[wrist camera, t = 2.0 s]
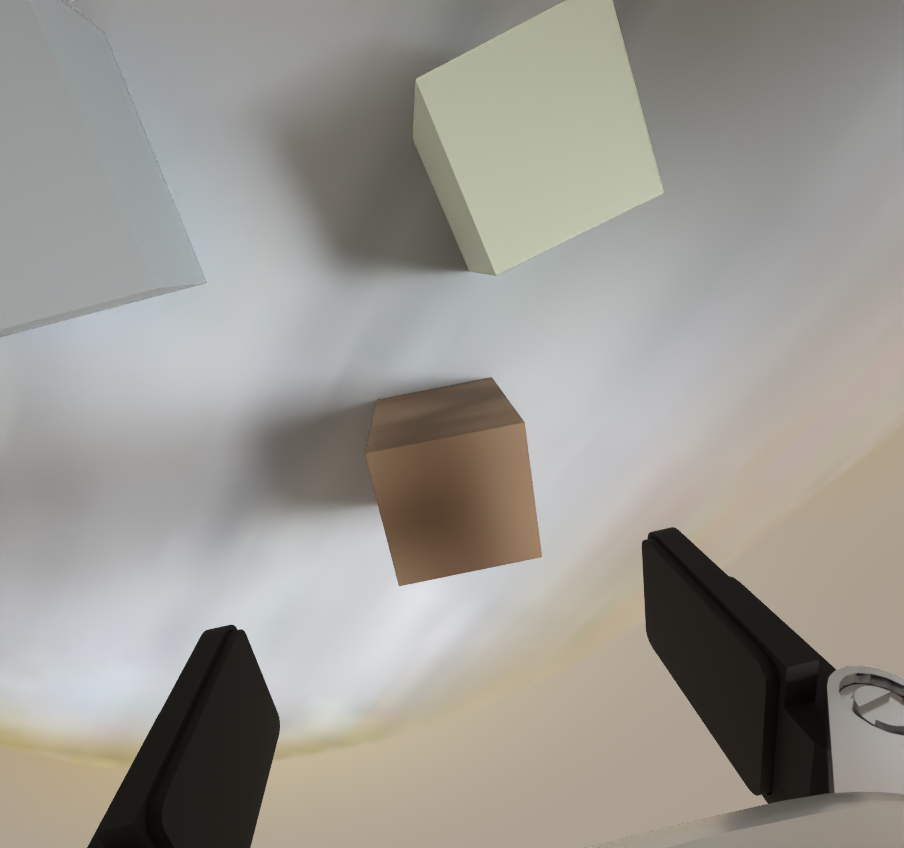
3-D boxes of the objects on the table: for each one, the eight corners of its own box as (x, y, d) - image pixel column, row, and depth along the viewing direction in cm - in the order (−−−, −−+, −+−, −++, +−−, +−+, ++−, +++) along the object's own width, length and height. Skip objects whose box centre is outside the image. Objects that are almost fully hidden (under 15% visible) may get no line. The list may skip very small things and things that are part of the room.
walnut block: (491, 377, 20) (524, 422, 14) (507, 480, 22) (542, 557, 16) (376, 399, 20) (364, 453, 14) (401, 501, 22) (399, 586, 16)
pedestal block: (109, 36, 15) (13, -37, 12) (210, 282, 18) (158, 288, 14) (-128, 97, 15) (-301, 45, 12) (9, 335, 18) (-95, 354, 14)
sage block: (538, 74, 17) (606, -22, 11) (584, 214, 18) (664, 193, 13) (412, 139, 17) (415, 78, 11) (469, 271, 19) (496, 275, 13)
